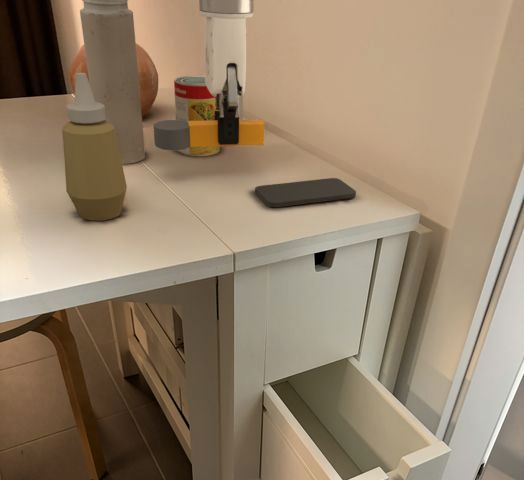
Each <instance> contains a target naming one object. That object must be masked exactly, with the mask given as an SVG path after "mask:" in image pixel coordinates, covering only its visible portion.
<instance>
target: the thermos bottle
mask: <svg viewBox="0 0 524 480" xmlns="http://www.w3.org/2000/svg"><path fill="white" fill-rule="evenodd" d="M81 1H82V2H83V8H81V9H80V10H79V16H80V23H81V30H82V39H83V45H84V46H85V54H86V61H87V69H88V76H89V84H90V87H91V90H92V93H93V96H94V99H95V102H98V103H102V104H103V105H104V106H105V114H106V119H105V120H106V121H108V122H110V123H111V124H112V125H113V126H114V128H115V133H116V138H117V142H118V147H119V152H120V157H121V161H122V165H125V164H127V165H128V164H134V163H137V162H138V163H139V162H141V161H143V160H144V159H145V157H146V149H145V148H146V147H145V137H144V125H143V119H142V115H141V104H140V89H139V77H138V66H137V54H136V43H137V42H136V31H135V20H134V12H133V10H131V9H130V8H129V5H128V3H129V2H128V1H129V0H81Z"/></svg>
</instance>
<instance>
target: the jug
mask: <svg viewBox="0 0 524 480" xmlns="http://www.w3.org/2000/svg"><path fill="white" fill-rule="evenodd" d="M136 54H137V66H138V77H139V89H140V104H141V115H142V120H144V119H145V118H146V117H147V116H148V114H149V112H150V111H151V109H152V107H153V105H154V103H155V101H156V98H157V97H158V92H159V74H158V70H157V68H156V65H155V63H154V61H153V59H152V57H151V56H150V54H149V53H148V52H147V51H146V50H145V48H144V47H142V46H141V45H140V44H138V43H137V42H136ZM77 73H86V75H87V78H88V81H89V76H88V69H87V61H86V54H85V46H84V44H83V45H82V46H81V47H80V48H79V50H78V51H77V53H76V55H75V56H74V58H73V60H72V63H71V64H70V66H69V72H68V77H69V82H70V87H71V89H72V93H73V94H74V95H75V85H76V74H77Z"/></svg>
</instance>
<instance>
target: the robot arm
mask: <svg viewBox="0 0 524 480" xmlns="http://www.w3.org/2000/svg"><path fill="white" fill-rule="evenodd" d="M254 5H255V0H198V6H199V7H198V10H199V11H198V13H199V14H198V15H199V16H202V17H205V29H204V30H205V31H204V76H205V84H206V86H207V88H208V90H209V92H210V93H211V94H212V95H213V96H214V97H215V108H216V110H219V111H215V120H218V143H219V144H220V145H227V144H238V143H239V96H242V95H243V96H244V95H245V93H246V87H247V86H246V83H247V19H251V18H253V17H254V15H255V14H254Z"/></svg>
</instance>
